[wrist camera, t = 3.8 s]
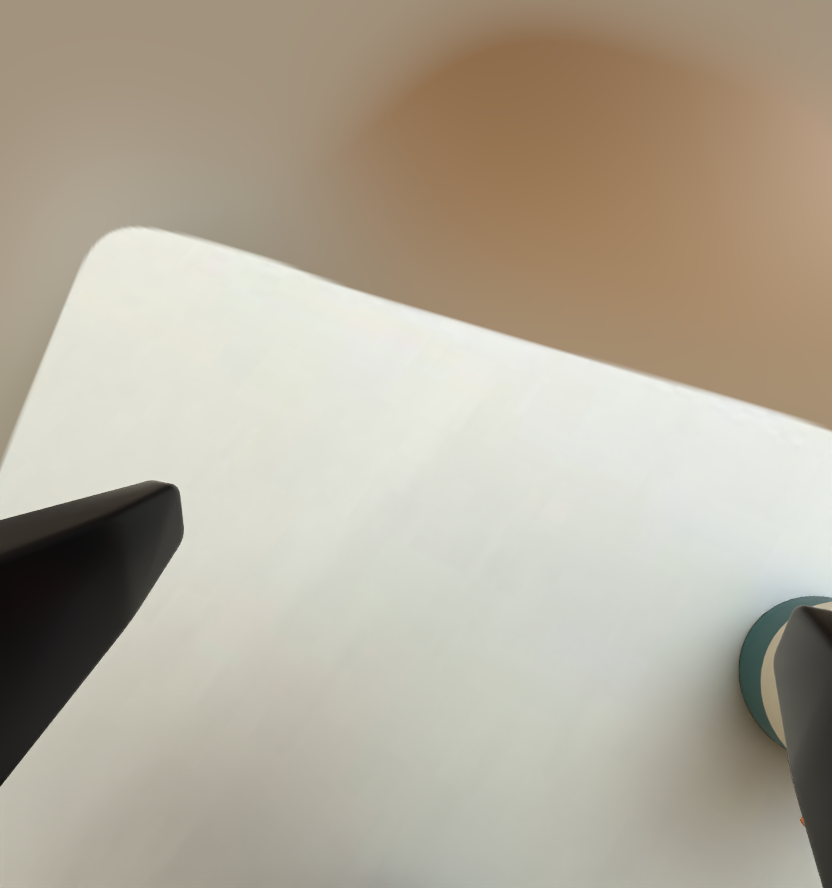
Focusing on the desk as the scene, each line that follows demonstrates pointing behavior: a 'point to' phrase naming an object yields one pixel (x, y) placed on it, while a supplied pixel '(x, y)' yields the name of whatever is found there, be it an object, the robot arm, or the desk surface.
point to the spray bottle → (768, 664)
